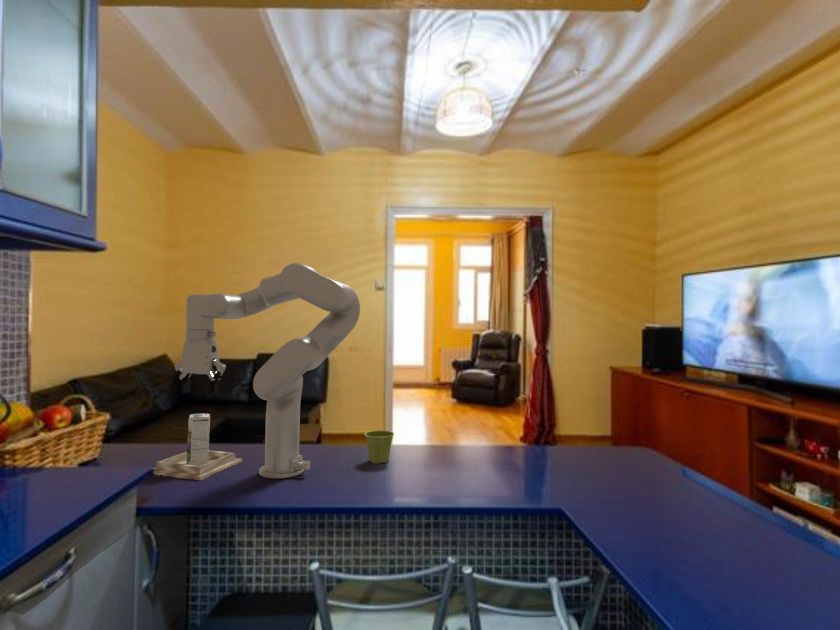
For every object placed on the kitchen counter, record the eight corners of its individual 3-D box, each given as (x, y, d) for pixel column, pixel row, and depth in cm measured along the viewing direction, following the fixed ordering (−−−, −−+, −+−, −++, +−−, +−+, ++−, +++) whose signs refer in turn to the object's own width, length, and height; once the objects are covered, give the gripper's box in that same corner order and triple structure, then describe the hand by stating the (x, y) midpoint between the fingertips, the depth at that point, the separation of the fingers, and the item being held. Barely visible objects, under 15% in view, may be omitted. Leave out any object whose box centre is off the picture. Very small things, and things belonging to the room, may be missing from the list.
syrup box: (187, 462, 139) (188, 414, 139) (208, 460, 142) (209, 412, 142) (186, 468, 134) (187, 417, 134) (208, 465, 136) (210, 416, 137)
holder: (242, 461, 144) (242, 452, 144) (200, 480, 127) (200, 469, 127) (193, 456, 149) (193, 447, 149) (147, 473, 131) (147, 463, 131)
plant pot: (359, 463, 144) (359, 435, 144) (371, 455, 153) (371, 429, 153) (387, 466, 141) (387, 438, 141) (397, 458, 150) (398, 431, 150)
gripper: (233, 335, 140) (232, 392, 139) (185, 335, 144) (184, 390, 144) (216, 336, 133) (215, 396, 132) (166, 336, 137) (165, 394, 137)
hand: (199, 393), depth 138 cm, fingers open, 9 cm apart
